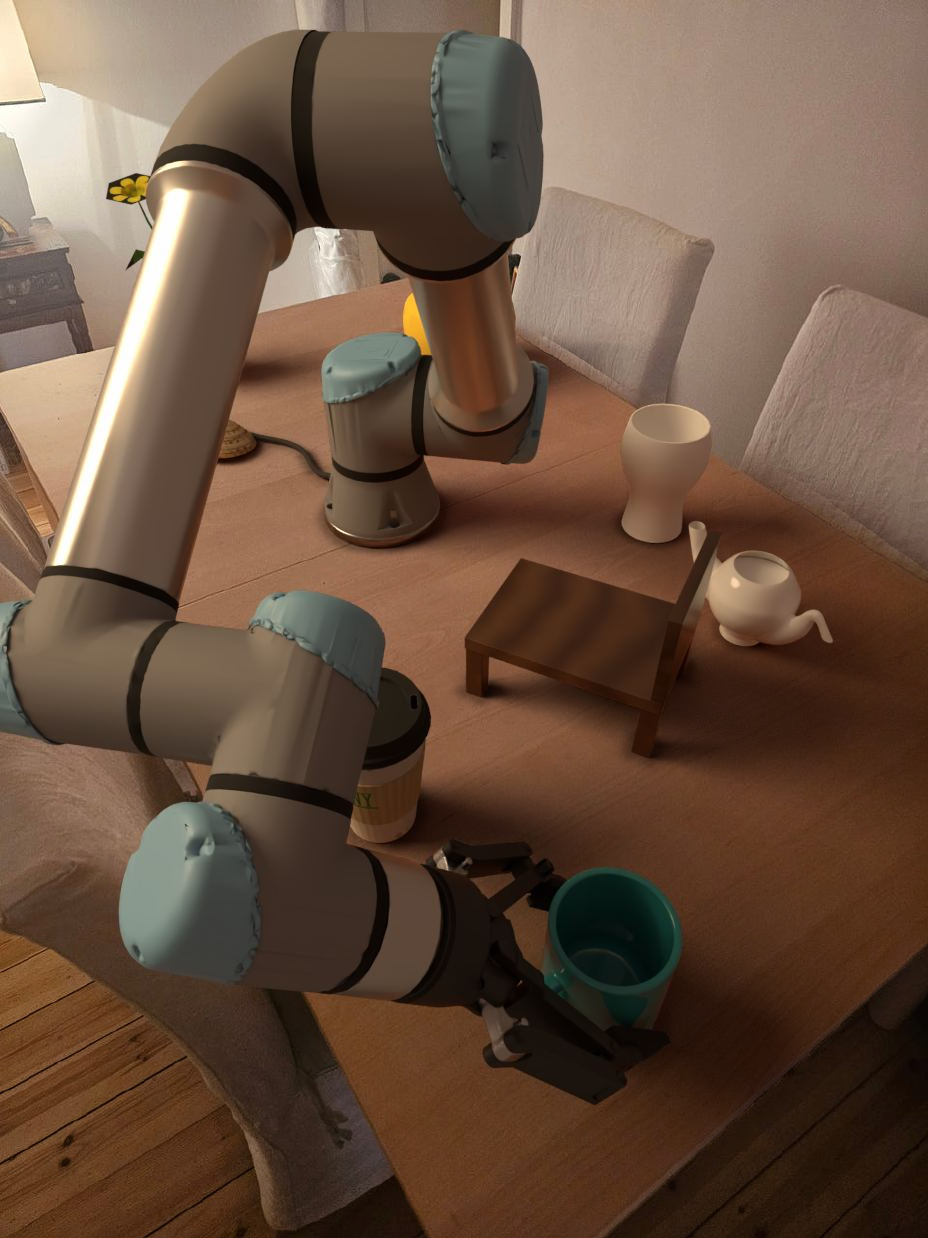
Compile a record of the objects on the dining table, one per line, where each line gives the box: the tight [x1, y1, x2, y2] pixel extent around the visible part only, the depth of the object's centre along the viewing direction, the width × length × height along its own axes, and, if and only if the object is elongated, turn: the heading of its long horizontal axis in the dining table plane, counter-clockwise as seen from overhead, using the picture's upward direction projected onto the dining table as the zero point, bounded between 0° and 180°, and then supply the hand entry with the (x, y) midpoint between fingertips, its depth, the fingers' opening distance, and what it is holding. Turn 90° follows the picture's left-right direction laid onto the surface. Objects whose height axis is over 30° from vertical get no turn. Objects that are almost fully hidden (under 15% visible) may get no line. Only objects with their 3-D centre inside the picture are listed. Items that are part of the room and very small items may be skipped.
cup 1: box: [540, 866, 684, 1031], centre depth 59 cm, size 9×12×11 cm
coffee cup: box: [350, 666, 432, 844], centre depth 70 cm, size 10×10×15 cm
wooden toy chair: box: [464, 528, 723, 759], centre depth 81 cm, size 20×14×18 cm
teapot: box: [688, 520, 834, 647], centre depth 89 cm, size 10×20×9 cm, turn 34°
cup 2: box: [619, 403, 713, 544], centre depth 102 cm, size 11×11×15 cm
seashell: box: [218, 419, 258, 459], centre depth 121 cm, size 8×6×8 cm
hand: (621, 972), depth 60 cm, fingers open, 10 cm apart
